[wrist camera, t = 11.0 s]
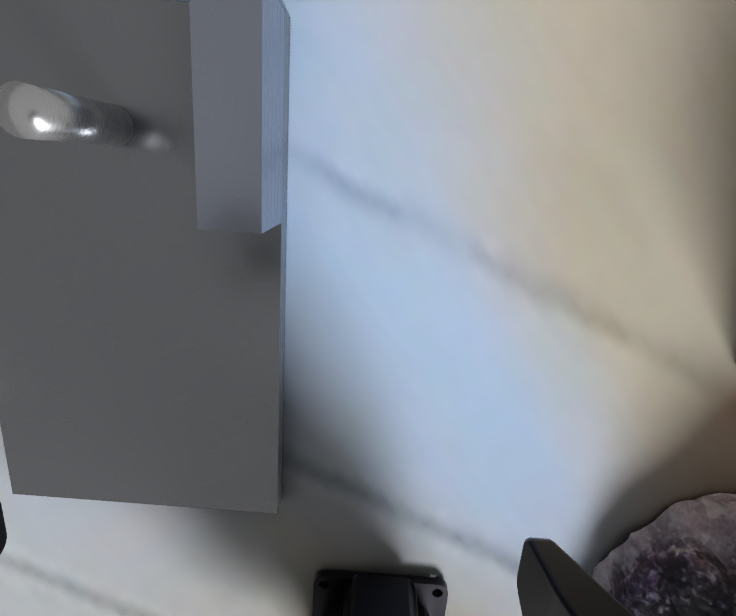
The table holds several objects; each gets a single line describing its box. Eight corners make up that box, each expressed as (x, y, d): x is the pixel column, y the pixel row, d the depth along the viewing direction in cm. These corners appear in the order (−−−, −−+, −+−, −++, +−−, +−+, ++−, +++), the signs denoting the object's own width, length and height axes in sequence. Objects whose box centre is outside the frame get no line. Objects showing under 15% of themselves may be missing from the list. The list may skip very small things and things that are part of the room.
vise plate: (281, 499, 22) (250, 602, 17) (28, 479, 22) (-81, 576, 17) (290, 17, 16) (247, -54, 11) (-51, -6, 16) (-254, -88, 11)
